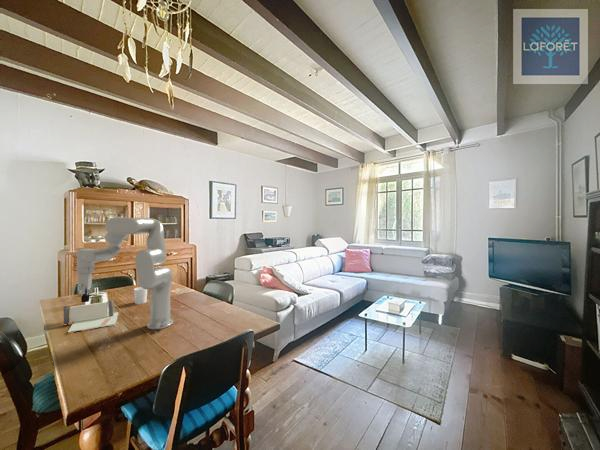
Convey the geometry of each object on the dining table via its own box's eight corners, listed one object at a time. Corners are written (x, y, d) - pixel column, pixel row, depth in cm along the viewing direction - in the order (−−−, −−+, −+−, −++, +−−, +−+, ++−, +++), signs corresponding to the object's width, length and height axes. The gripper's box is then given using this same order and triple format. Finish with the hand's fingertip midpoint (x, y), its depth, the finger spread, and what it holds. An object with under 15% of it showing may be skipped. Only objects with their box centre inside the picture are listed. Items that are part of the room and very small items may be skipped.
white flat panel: (107, 315, 140) (107, 301, 140) (107, 316, 139) (107, 302, 139) (70, 321, 132) (70, 306, 132) (70, 322, 131) (69, 307, 130)
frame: (114, 325, 130) (114, 307, 130) (55, 336, 118) (55, 316, 118) (118, 313, 146) (118, 297, 146) (66, 322, 134) (66, 304, 134)
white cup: (150, 301, 169) (150, 286, 169) (141, 305, 162) (141, 290, 161) (139, 300, 170) (139, 286, 170) (130, 304, 162) (130, 289, 162)
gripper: (80, 268, 143) (79, 298, 143) (73, 273, 130) (73, 307, 131) (96, 267, 147) (96, 296, 147) (91, 272, 134) (91, 304, 135)
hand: (85, 301), depth 139 cm, fingers closed
